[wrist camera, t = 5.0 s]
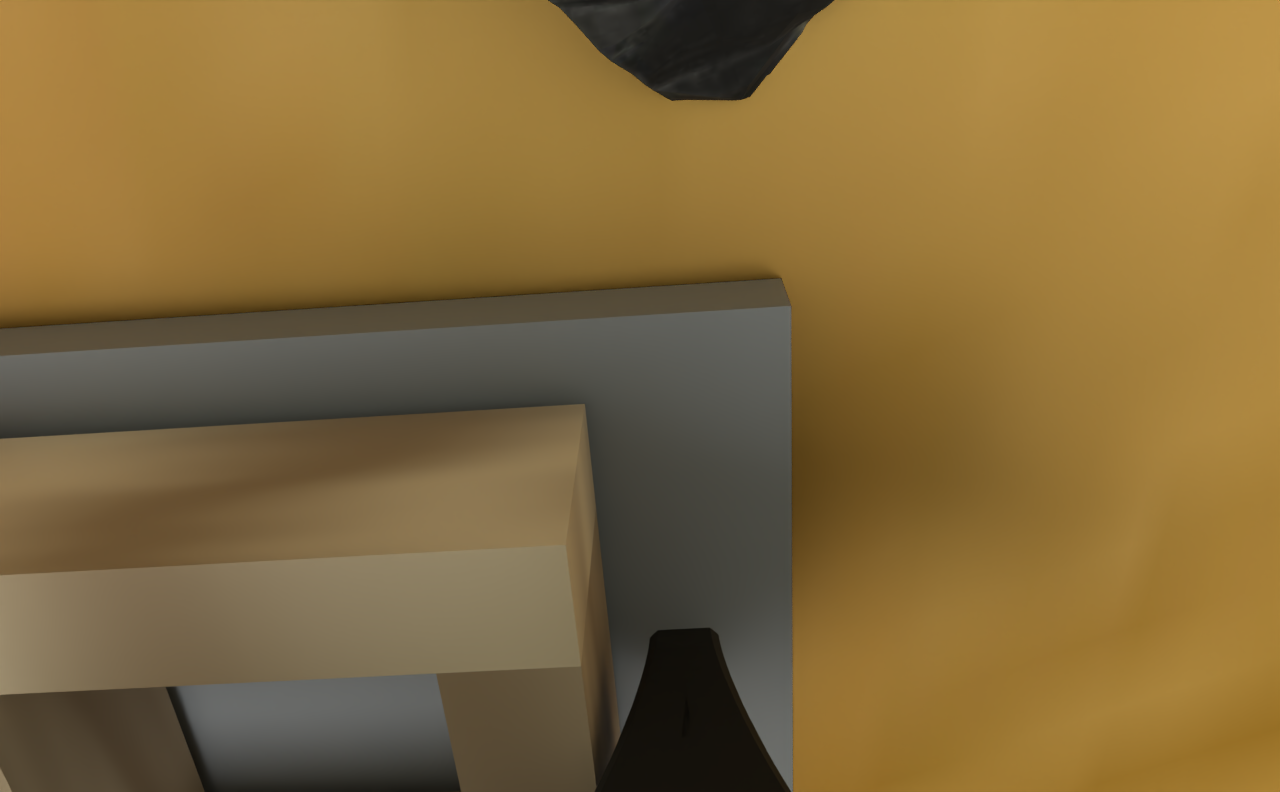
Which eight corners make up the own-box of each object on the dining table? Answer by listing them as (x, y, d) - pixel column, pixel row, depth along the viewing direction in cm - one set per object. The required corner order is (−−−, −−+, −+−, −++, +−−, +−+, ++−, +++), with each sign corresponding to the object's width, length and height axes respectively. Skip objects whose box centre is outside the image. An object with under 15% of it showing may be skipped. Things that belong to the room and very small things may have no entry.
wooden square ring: (584, 404, 12) (565, 544, 9) (633, 851, 15) (630, 1048, 13) (-45, 441, 12) (-241, 588, 10) (143, 871, 16) (39, 1068, 13)
